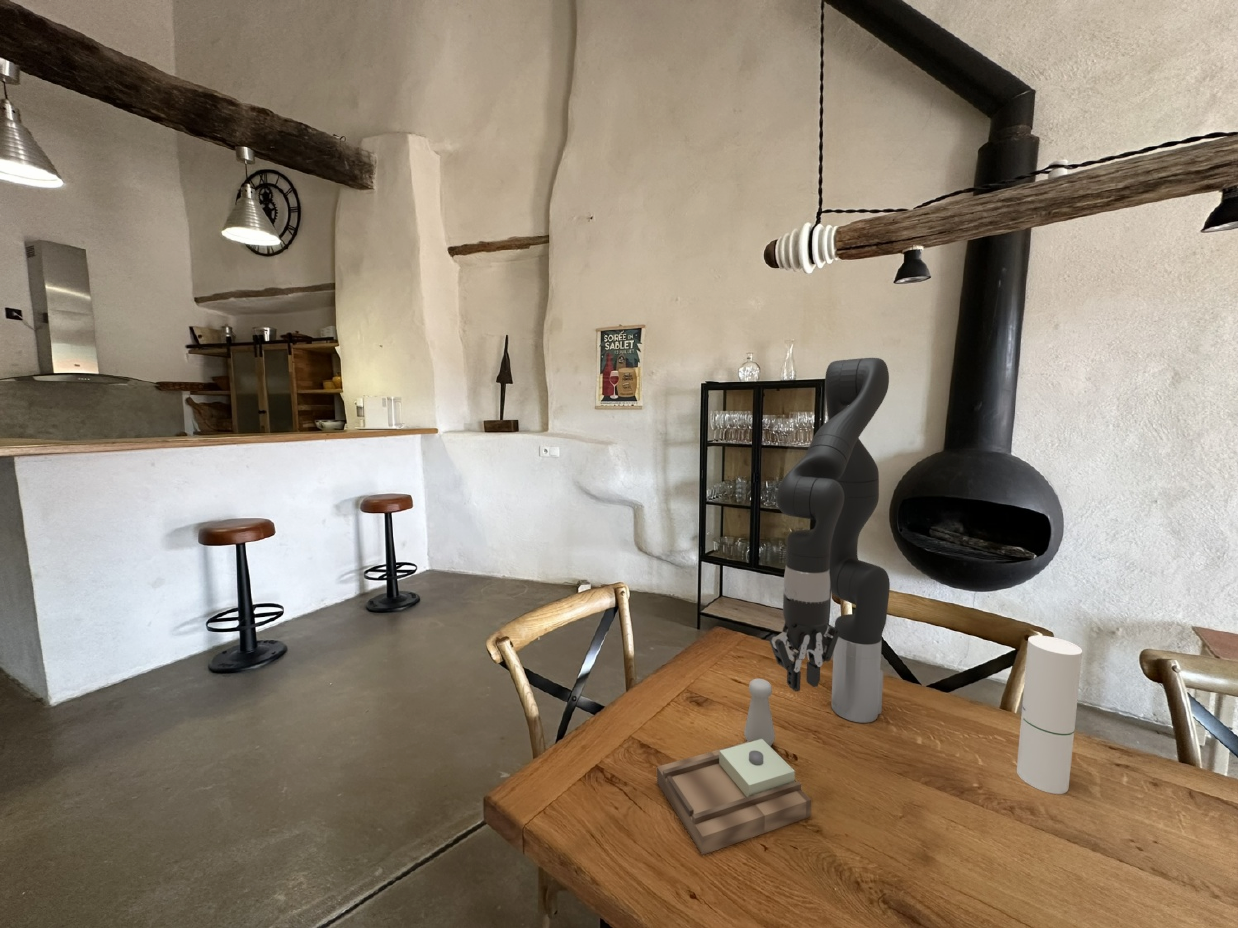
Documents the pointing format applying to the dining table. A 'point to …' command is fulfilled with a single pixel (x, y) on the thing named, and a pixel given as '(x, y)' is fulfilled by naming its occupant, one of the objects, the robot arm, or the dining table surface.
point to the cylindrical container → (1049, 713)
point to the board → (726, 803)
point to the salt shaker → (760, 713)
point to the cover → (755, 767)
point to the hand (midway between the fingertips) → (803, 686)
